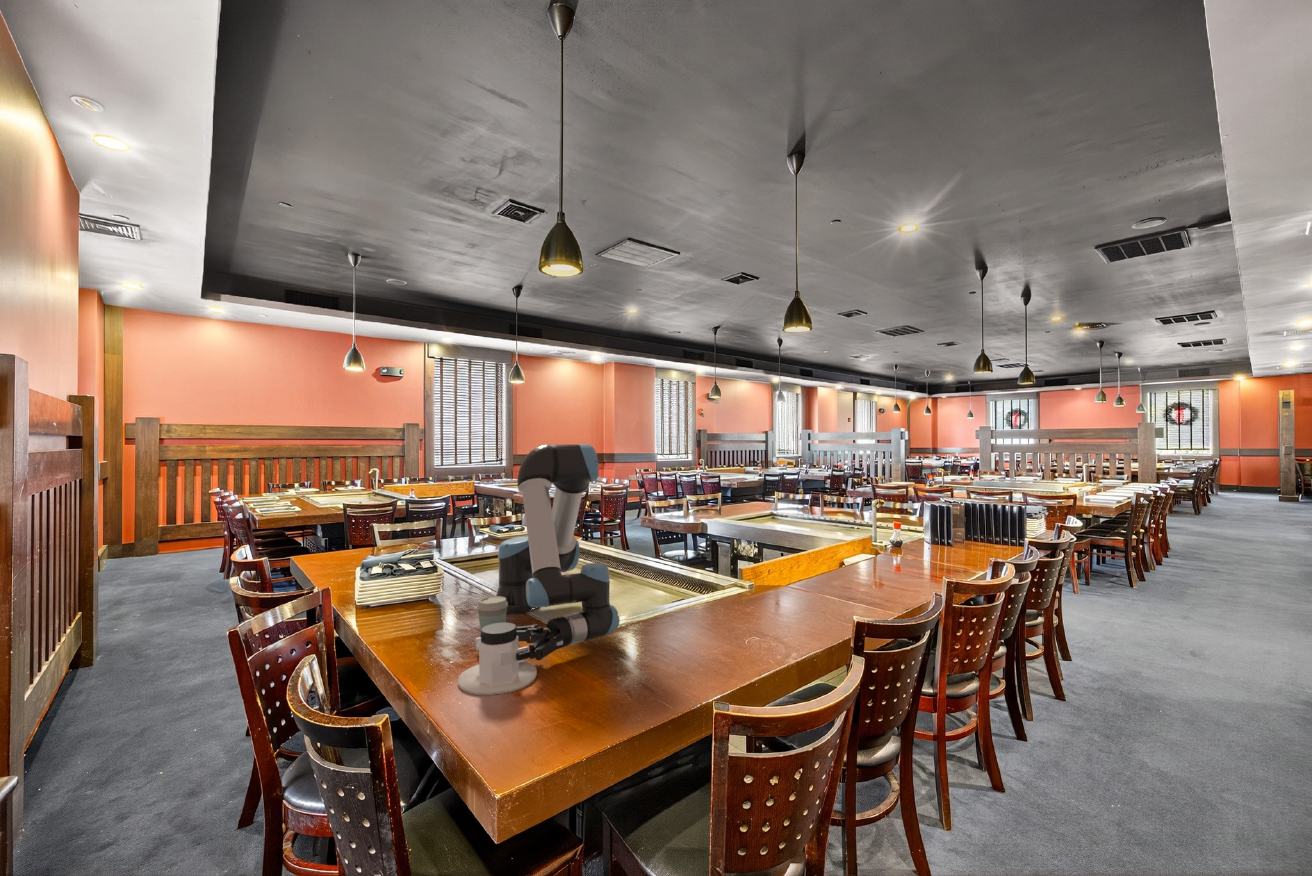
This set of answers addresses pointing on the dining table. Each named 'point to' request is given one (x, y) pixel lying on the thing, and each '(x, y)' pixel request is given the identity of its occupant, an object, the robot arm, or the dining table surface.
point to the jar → (497, 654)
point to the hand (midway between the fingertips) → (488, 651)
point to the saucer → (472, 686)
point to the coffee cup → (492, 610)
